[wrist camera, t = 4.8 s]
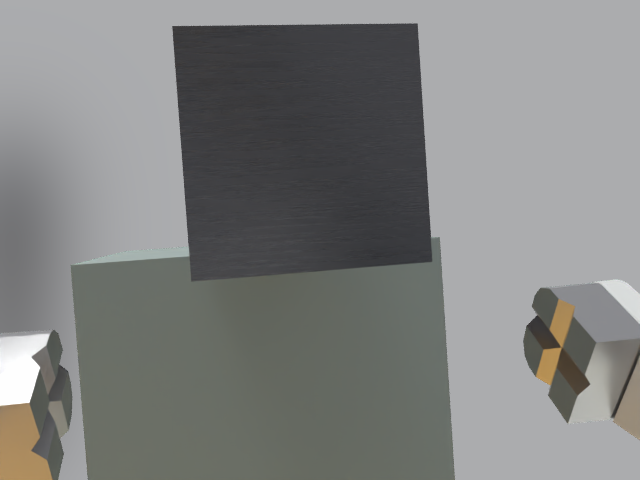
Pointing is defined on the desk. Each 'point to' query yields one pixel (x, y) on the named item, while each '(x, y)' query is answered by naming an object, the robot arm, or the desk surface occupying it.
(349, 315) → the press column
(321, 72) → the lever bar
